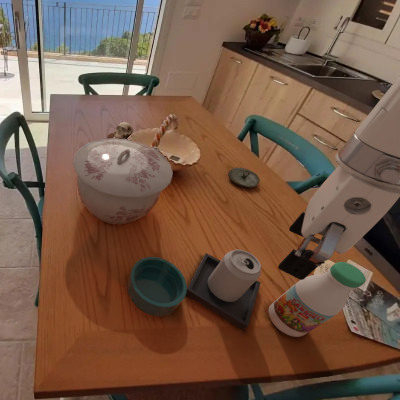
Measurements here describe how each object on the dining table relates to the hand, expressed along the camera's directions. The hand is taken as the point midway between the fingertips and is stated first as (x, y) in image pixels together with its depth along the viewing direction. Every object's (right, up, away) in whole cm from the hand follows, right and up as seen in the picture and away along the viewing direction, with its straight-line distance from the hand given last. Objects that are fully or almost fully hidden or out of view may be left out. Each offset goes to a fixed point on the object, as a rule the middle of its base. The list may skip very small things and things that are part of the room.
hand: (294, 252), depth 41 cm
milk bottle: (+13, -19, +19) cm, 31 cm away
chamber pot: (-22, +6, +44) cm, 49 cm away
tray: (+1, -14, +24) cm, 28 cm away
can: (+1, -14, +24) cm, 27 cm away
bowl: (-16, -14, +23) cm, 31 cm away
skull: (-16, +34, +75) cm, 83 cm away
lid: (+27, +15, +58) cm, 65 cm away
